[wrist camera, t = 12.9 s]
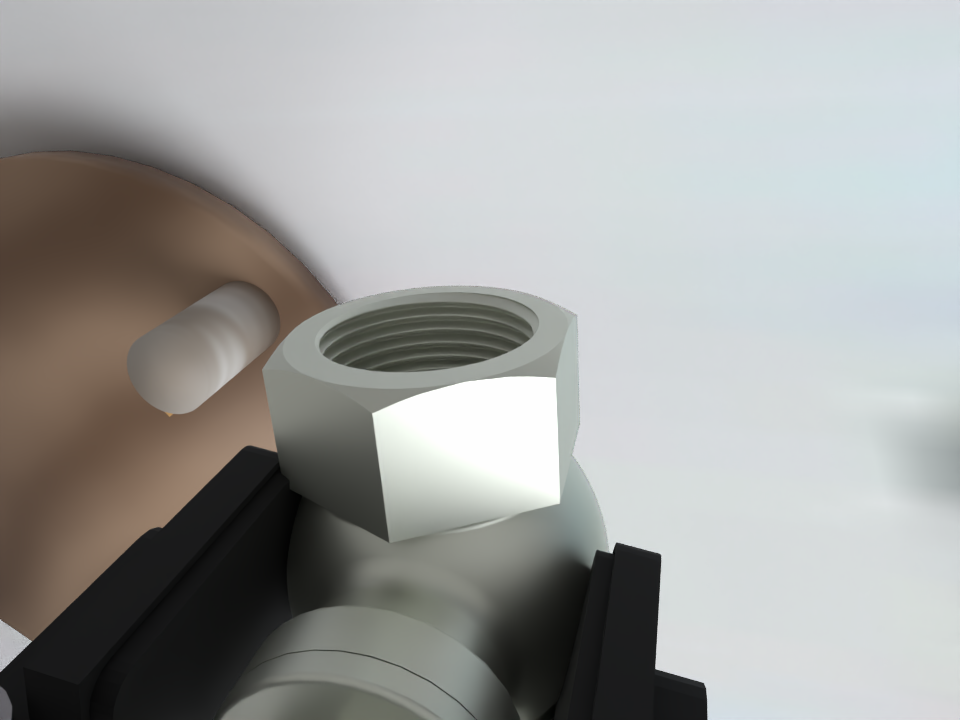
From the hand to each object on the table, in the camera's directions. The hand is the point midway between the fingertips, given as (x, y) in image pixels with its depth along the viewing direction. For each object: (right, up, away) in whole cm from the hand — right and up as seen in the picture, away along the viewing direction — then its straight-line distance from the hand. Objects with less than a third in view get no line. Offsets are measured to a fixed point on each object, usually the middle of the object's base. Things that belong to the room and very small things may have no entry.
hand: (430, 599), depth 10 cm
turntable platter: (-13, 0, +21) cm, 25 cm away
